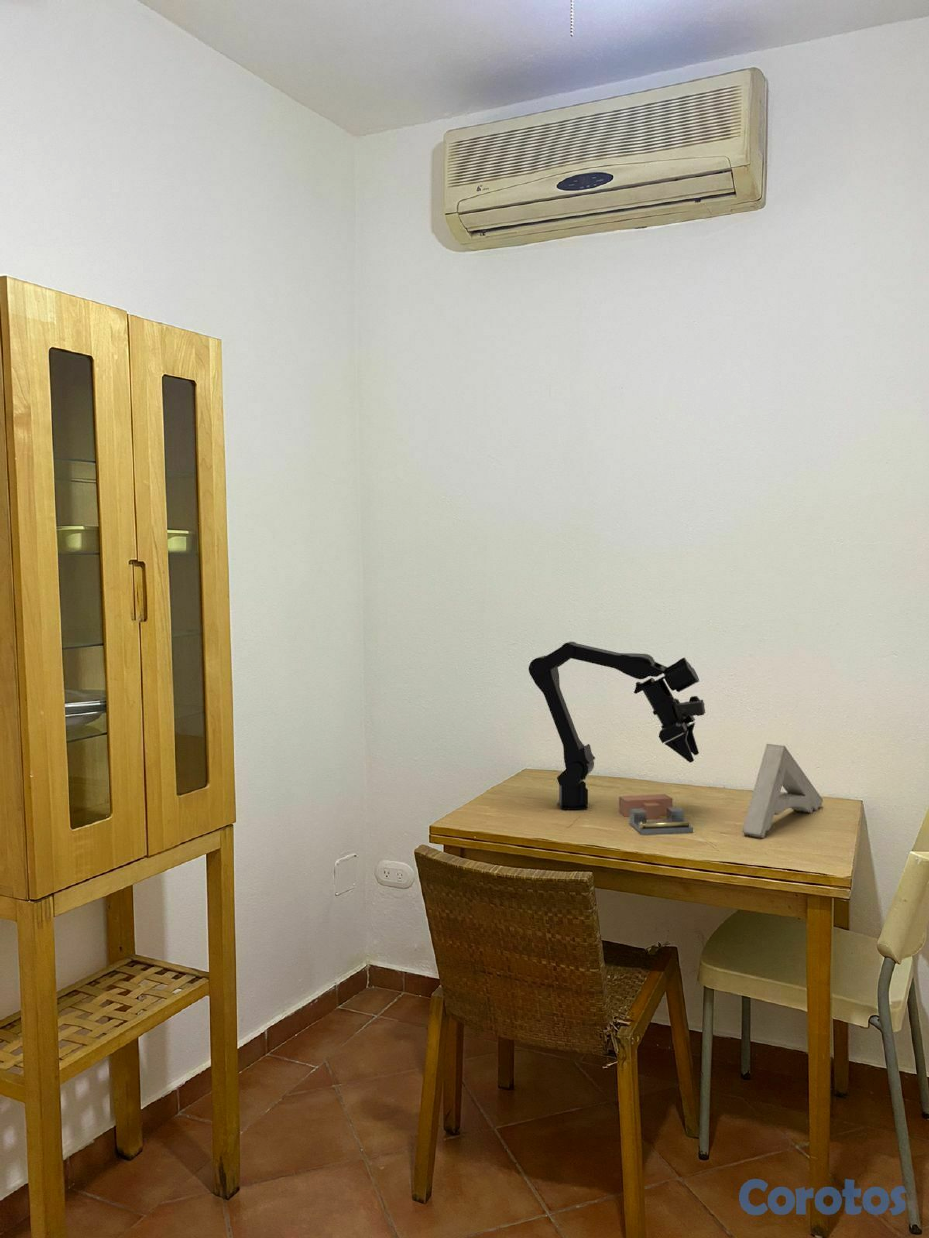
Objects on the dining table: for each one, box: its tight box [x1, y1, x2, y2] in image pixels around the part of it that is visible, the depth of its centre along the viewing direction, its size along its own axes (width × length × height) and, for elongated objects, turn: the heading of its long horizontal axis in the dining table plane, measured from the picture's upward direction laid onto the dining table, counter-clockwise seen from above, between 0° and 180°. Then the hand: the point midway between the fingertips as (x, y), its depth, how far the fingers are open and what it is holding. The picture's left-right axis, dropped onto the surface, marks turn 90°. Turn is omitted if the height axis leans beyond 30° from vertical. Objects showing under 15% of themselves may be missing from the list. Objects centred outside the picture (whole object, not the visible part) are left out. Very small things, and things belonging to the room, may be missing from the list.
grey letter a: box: [741, 743, 824, 839], centre depth 235 cm, size 22×4×30 cm
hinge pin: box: [639, 821, 690, 829], centre depth 226 cm, size 12×2×2 cm, turn 96°
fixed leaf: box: [629, 806, 694, 836], centre depth 230 cm, size 12×10×4 cm
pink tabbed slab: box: [618, 793, 674, 820], centre depth 242 cm, size 12×8×4 cm, turn 100°
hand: (694, 758), depth 239 cm, fingers open, 9 cm apart
